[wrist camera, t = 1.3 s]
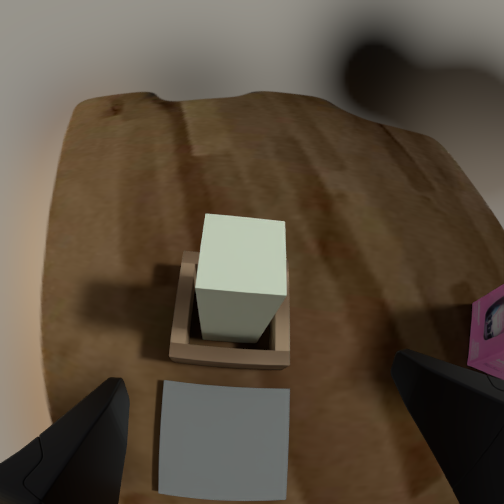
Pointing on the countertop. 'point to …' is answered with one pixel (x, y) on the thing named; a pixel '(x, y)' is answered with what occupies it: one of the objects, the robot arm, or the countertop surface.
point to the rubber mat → (224, 442)
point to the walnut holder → (221, 356)
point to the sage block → (240, 277)
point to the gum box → (488, 334)
